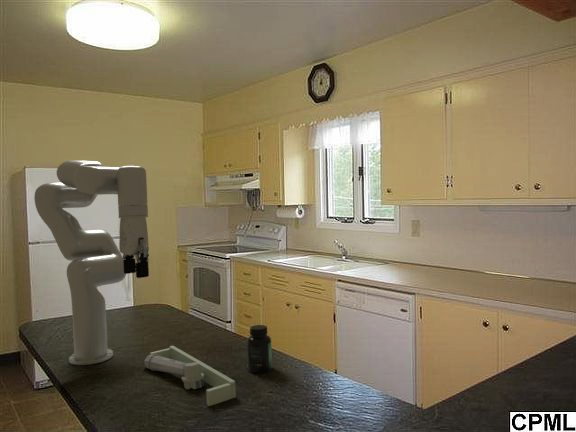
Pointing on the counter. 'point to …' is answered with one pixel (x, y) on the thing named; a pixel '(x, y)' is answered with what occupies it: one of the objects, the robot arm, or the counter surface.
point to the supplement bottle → (259, 350)
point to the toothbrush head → (176, 369)
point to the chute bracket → (219, 381)
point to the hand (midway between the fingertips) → (136, 275)
